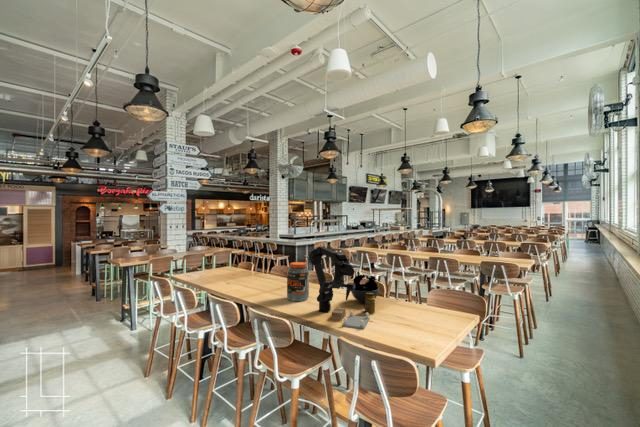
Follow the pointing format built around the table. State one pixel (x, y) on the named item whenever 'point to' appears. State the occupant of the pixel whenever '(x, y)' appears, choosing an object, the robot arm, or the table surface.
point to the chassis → (356, 321)
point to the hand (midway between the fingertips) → (338, 299)
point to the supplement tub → (298, 281)
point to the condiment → (369, 304)
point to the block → (338, 313)
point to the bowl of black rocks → (364, 288)
